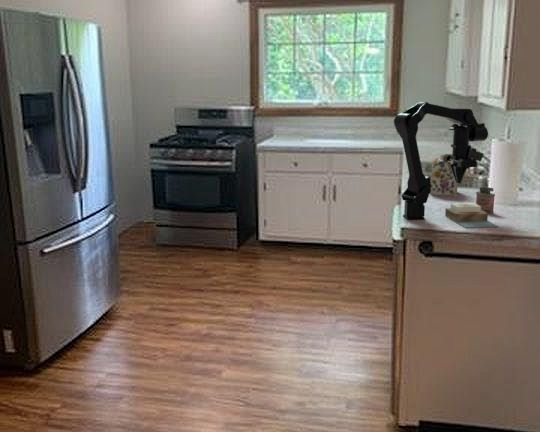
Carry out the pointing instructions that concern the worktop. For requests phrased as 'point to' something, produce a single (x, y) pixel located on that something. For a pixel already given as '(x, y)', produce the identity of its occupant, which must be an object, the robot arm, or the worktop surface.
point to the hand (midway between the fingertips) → (458, 182)
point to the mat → (476, 224)
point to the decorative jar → (442, 178)
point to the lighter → (485, 199)
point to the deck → (466, 215)
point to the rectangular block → (466, 207)
